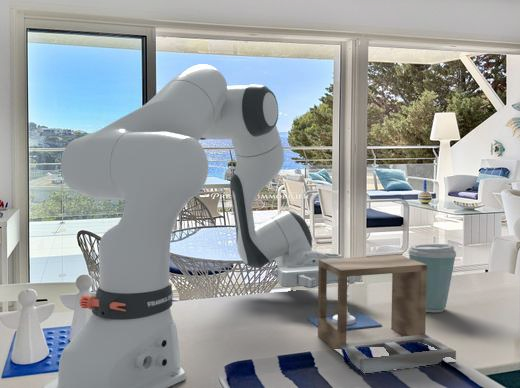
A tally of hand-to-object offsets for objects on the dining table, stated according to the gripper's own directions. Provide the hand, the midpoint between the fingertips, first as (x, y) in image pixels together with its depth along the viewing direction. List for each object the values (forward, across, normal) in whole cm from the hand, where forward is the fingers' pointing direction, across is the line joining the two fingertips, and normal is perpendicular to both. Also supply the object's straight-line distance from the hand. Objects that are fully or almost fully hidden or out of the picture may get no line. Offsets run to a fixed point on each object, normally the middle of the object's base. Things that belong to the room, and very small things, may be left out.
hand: (332, 281), depth 120 cm
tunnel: (+22, 0, +7) cm, 23 cm away
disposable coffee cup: (+3, +23, +8) cm, 25 cm away
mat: (+6, 0, +7) cm, 10 cm away
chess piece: (+6, 0, +7) cm, 9 cm away
